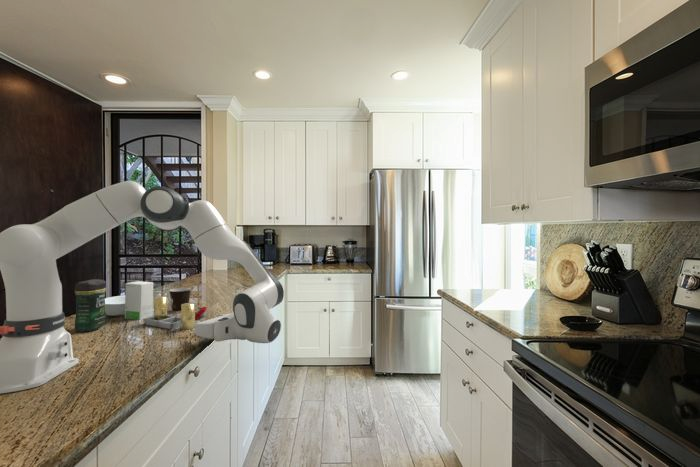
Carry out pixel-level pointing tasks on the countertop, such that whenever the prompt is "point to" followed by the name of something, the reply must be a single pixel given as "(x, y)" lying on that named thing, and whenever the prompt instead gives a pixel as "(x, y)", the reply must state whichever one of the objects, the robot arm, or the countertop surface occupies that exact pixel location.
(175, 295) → the coffee mug
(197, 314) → the strawberry
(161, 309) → the billet
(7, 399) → the countertop surface
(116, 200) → the robot arm
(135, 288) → the skincare box
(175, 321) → the grey tray
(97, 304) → the coffee jar
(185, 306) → the billet
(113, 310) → the serving bowl
